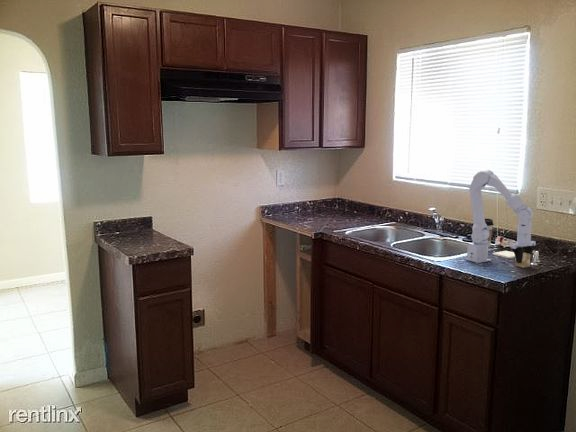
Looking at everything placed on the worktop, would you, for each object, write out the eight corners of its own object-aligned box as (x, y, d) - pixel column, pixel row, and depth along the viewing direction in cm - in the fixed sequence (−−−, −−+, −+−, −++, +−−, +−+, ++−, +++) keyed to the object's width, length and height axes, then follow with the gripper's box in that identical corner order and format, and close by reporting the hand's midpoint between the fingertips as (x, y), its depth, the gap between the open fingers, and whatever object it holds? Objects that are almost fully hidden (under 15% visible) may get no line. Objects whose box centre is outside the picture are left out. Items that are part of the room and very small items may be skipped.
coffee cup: (494, 245, 281) (495, 219, 279) (490, 248, 274) (491, 221, 272) (478, 244, 286) (479, 217, 284) (474, 247, 279) (475, 220, 277)
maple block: (523, 267, 236) (523, 255, 235) (514, 265, 240) (515, 253, 239) (529, 266, 238) (530, 253, 237) (521, 264, 242) (521, 252, 241)
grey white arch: (534, 265, 239) (535, 255, 238) (511, 259, 250) (511, 249, 250) (547, 263, 243) (547, 252, 242) (523, 257, 255) (524, 247, 254)
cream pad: (508, 258, 253) (509, 256, 253) (492, 254, 262) (492, 252, 262) (522, 256, 258) (522, 254, 258) (505, 252, 267) (505, 250, 267)
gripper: (521, 236, 229) (519, 265, 232) (542, 233, 236) (540, 261, 238) (507, 234, 236) (506, 262, 238) (528, 230, 242) (527, 258, 244)
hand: (522, 262), depth 238 cm, fingers closed on maple block, 4 cm apart
